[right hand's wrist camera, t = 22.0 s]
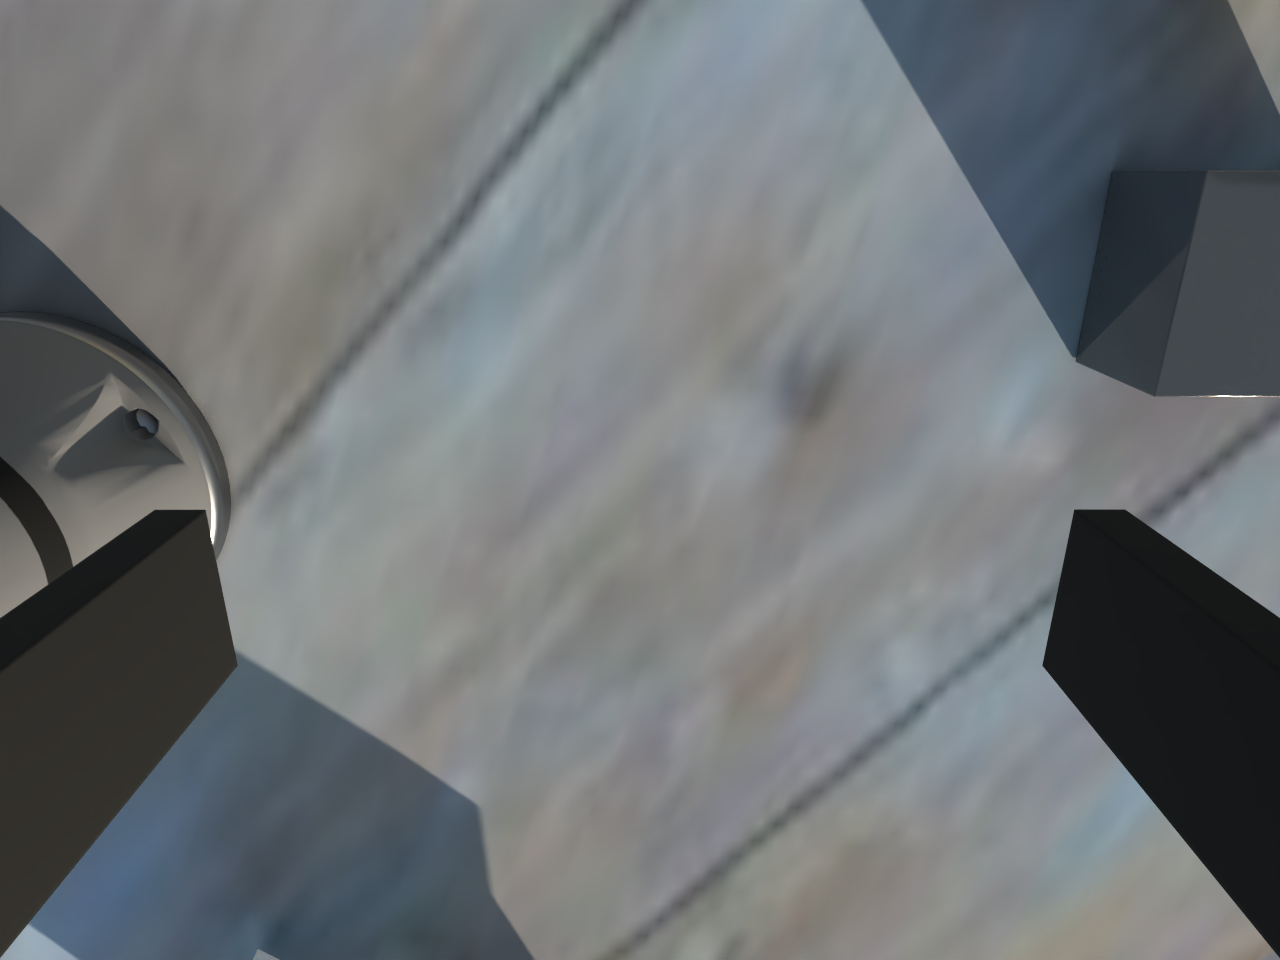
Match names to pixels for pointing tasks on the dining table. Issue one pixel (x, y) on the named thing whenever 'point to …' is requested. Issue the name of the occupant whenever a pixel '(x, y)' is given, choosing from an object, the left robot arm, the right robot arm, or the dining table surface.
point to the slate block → (1188, 284)
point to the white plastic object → (263, 956)
